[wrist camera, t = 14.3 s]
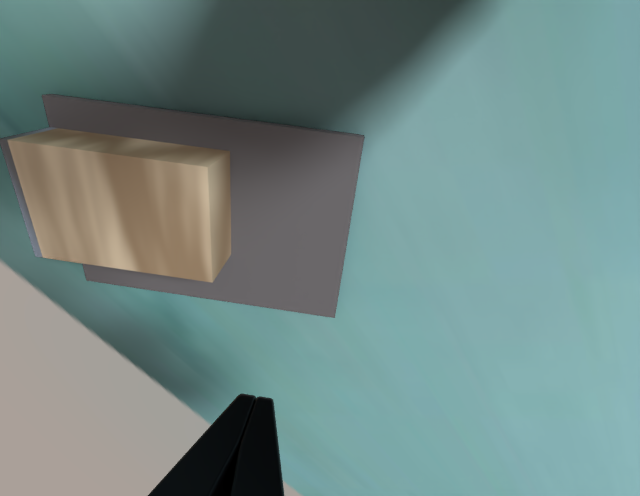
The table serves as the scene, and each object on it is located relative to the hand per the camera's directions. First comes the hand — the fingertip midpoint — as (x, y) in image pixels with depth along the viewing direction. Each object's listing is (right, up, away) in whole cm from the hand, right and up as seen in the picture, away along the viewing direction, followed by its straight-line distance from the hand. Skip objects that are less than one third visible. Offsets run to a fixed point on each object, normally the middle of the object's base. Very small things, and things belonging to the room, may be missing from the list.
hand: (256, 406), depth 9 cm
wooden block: (-3, +5, +9) cm, 11 cm away
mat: (-5, +6, +12) cm, 14 cm away
